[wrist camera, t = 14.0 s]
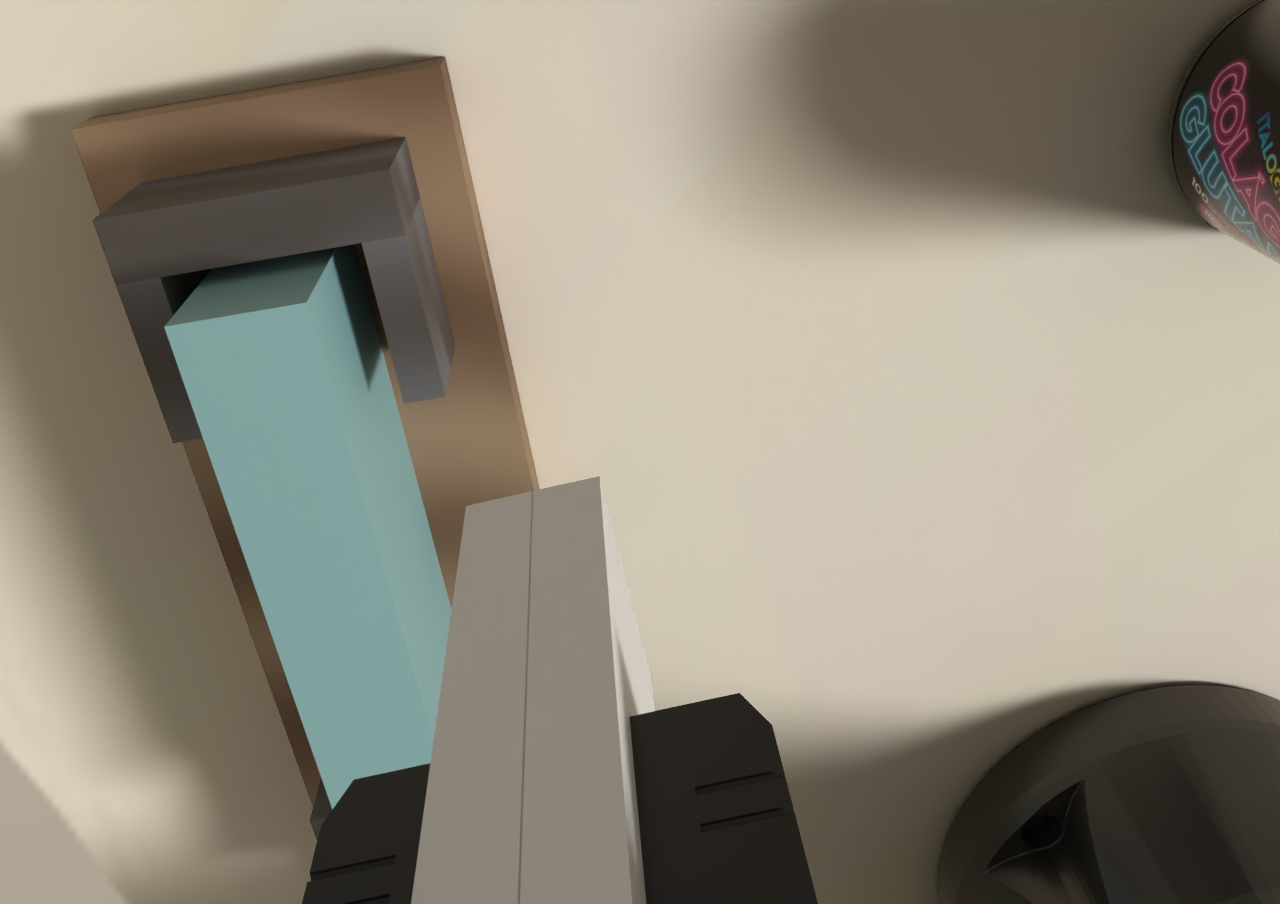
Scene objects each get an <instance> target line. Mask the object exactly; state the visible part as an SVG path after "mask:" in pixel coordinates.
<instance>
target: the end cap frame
mask: <svg viewBox="0 0 1280 904" xmlns="http://www.w3.org/2000/svg"><path fill="white" fill-rule="evenodd" d="M71 132H72V135H73V138H74V141H75V143H76V146H77V149H78V152H79V155H80V157H81V160H82V163H83V166H84V169H85V171H86V174H87V177H88V180H89V183H90V185H91V188H92V191H93V194H94V197H95V199H96V202H97V205H98V208H99V210H100V213H101V214H100V215H99V216H98V217H96V218H95V219H94V220H93V223H94V225H95V228H96V231H97V234H98V236H99V239H100V242H101V245H102V248H103V250H104V253H105V256H106V259H107V261H108V264H109V267H110V270H111V272H112V275H113V278H114V281H115V283H116V286H117V289H118V292H119V294H120V297H121V300H122V303H123V306H124V308H125V311H126V314H127V317H128V319H129V322H130V325H131V328H132V330H133V333H134V336H135V339H136V341H137V344H138V347H139V350H140V352H141V355H142V358H143V361H144V364H145V366H146V369H147V372H148V375H149V377H150V380H151V383H152V386H153V388H154V391H155V394H156V397H157V399H158V402H159V405H160V408H161V410H162V413H163V416H164V419H165V422H166V424H167V427H168V430H169V433H170V435H171V438H172V441H173V443H177V442H183V445H184V448H185V451H186V453H187V456H188V459H189V462H190V464H191V467H192V470H193V473H194V476H195V478H196V481H197V484H198V487H199V490H200V492H201V495H202V498H203V501H204V504H205V506H206V509H207V512H208V515H209V518H210V520H211V523H212V526H213V529H214V531H215V534H216V537H217V540H218V543H219V545H220V548H221V551H222V554H223V557H224V559H225V562H226V565H227V568H228V571H229V573H230V576H231V579H232V582H233V585H234V587H235V590H236V593H237V596H238V598H239V601H240V604H241V607H242V610H243V612H244V615H245V618H246V621H247V624H248V626H249V629H250V632H251V635H252V638H253V640H254V643H255V646H256V649H257V652H258V654H259V657H260V660H261V663H262V665H263V668H264V671H265V674H266V677H267V679H268V682H269V685H270V688H271V691H272V693H273V696H274V699H275V702H276V705H277V707H278V710H279V713H280V716H281V719H282V721H283V724H284V727H285V730H286V732H287V735H288V738H289V741H290V744H291V746H292V749H293V752H294V755H295V758H296V760H297V763H298V766H299V769H300V772H301V774H302V777H303V780H304V783H305V786H306V788H307V791H308V794H309V797H310V799H311V802H312V805H313V811H312V815H311V819H310V822H311V825H312V827H313V830H314V833H315V836H316V839H317V841H318V837H319V832H320V828H321V825H322V823H323V822H324V821H325V819H326V818H327V816H328V815H329V814H330V812H331V811H332V807H331V804H330V801H329V798H328V795H327V793H326V790H325V787H324V784H323V781H322V778H321V775H320V772H319V770H318V767H317V764H316V761H315V758H314V755H313V752H312V749H311V747H310V744H309V741H308V738H307V735H306V732H305V729H304V727H303V724H302V721H301V718H300V715H299V712H298V709H297V706H296V704H295V701H294V698H293V695H292V692H291V689H290V686H289V684H288V681H287V678H286V675H285V672H284V669H283V666H282V663H281V661H280V658H279V655H278V652H277V649H276V646H275V643H274V641H273V638H272V635H271V632H270V629H269V626H268V623H267V620H266V618H265V615H264V612H263V609H262V606H261V603H260V600H259V597H258V595H257V592H256V589H255V586H254V583H253V580H252V577H251V575H250V572H249V569H248V566H247V563H246V560H245V557H244V554H243V552H242V549H241V546H240V543H239V540H238V537H237V534H236V532H235V529H234V526H233V523H232V520H231V517H230V514H229V511H228V509H227V506H226V503H225V500H224V497H223V494H222V491H221V489H220V486H219V483H218V480H217V477H216V474H215V471H214V468H213V466H212V463H211V460H210V457H209V454H208V451H207V448H206V445H205V443H204V440H203V437H202V434H201V431H200V428H199V425H198V423H197V420H196V417H195V414H194V411H193V408H192V405H191V402H190V400H189V397H188V394H187V391H186V388H185V385H184V382H183V380H182V377H181V374H180V371H179V368H178V365H177V362H176V359H175V357H174V354H173V351H172V348H171V345H170V342H169V339H168V337H167V334H166V331H165V328H164V326H165V325H166V324H167V323H168V322H169V320H170V319H171V318H172V317H173V315H174V314H175V313H176V312H177V311H178V309H179V308H180V307H181V306H182V305H183V303H184V302H185V301H186V300H187V298H188V297H189V296H190V295H191V294H192V292H193V291H194V290H195V289H196V288H197V286H198V285H199V284H200V283H201V282H202V280H203V279H204V278H205V277H206V275H207V274H208V273H209V272H210V271H211V269H213V268H218V267H224V266H230V265H236V264H242V263H248V262H253V261H259V260H265V259H271V258H277V257H283V256H288V255H294V254H300V253H306V252H312V251H318V250H323V249H329V248H335V247H341V246H347V245H353V244H354V246H355V250H356V254H357V257H358V261H359V265H360V269H361V272H362V276H363V280H364V284H365V287H366V291H367V295H368V299H369V302H370V306H371V310H372V314H373V317H374V321H375V325H376V329H377V332H378V336H379V340H380V344H381V347H382V351H383V355H384V359H385V362H386V366H387V370H388V374H389V377H390V381H391V385H392V389H393V392H394V396H395V400H396V404H397V407H398V411H399V415H400V419H401V422H402V426H403V430H404V434H405V437H406V441H407V445H408V448H409V452H410V456H411V460H412V463H413V467H414V471H415V475H416V478H417V482H418V486H419V490H420V493H421V497H422V501H423V505H424V508H425V512H426V516H427V520H428V523H429V527H430V531H431V535H432V538H433V542H434V546H435V550H436V553H437V557H438V561H439V565H440V568H441V572H442V576H443V580H444V583H445V587H446V591H447V595H448V598H449V602H450V606H451V610H452V604H453V596H454V589H455V582H456V575H457V568H458V560H459V553H460V546H461V539H462V531H463V524H464V517H465V510H466V506H468V505H472V504H477V503H481V502H486V501H491V500H495V499H500V498H504V497H509V496H513V495H518V494H522V493H527V492H531V491H536V490H539V485H538V481H537V476H536V471H535V467H534V462H533V458H532V453H531V449H530V444H529V439H528V435H527V430H526V426H525V421H524V416H523V412H522V407H521V403H520V398H519V393H518V389H517V384H516V380H515V375H514V371H513V366H512V361H511V357H510V352H509V348H508V343H507V338H506V334H505V329H504V325H503V320H502V315H501V311H500V306H499V302H498V297H497V293H496V288H495V283H494V279H493V274H492V270H491V265H490V260H489V256H488V251H487V247H486V242H485V238H484V233H483V228H482V224H481V219H480V215H479V210H478V205H477V201H476V196H475V192H474V187H473V182H472V178H471V173H470V169H469V164H468V160H467V155H466V150H465V146H464V141H463V137H462V132H461V127H460V123H459V118H458V114H457V109H456V105H455V100H454V95H453V91H452V86H451V82H450V77H449V72H448V68H447V63H446V59H445V57H441V58H435V59H429V60H423V61H417V62H412V63H406V64H400V65H394V66H388V67H383V68H377V69H371V70H365V71H359V72H354V73H348V74H342V75H336V76H330V77H325V78H319V79H313V80H307V81H302V82H296V83H290V84H284V85H278V86H273V87H267V88H261V89H255V90H249V91H244V92H238V93H232V94H226V95H220V96H215V97H209V98H203V99H197V100H191V101H186V102H180V103H174V104H168V105H163V106H157V107H151V108H145V109H139V110H134V111H128V112H122V113H116V114H110V115H105V116H99V117H93V118H90V119H88V120H87V121H85V122H83V123H81V124H80V125H78V126H76V127H74V128H72V129H71Z"/></svg>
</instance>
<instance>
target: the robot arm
mask: <svg viewBox="0 0 1280 904" xmlns="http://www.w3.org/2000/svg"><path fill="white" fill-rule="evenodd" d="M310 876H311V882H307V886H306V890H305V894H304V898H303V902H302V904H818V903H817V899H816V895H815V891H814V887H813V883H812V879H811V875H810V871H809V867H808V864H807V860H806V856H805V852H804V848H803V844H802V840H801V836H800V832H799V829H798V825H797V821H796V817H795V814H794V810H793V805H792V801H791V797H790V794H789V790H788V786H787V782H786V778H785V775H784V770H783V766H782V762H781V758H780V755H779V751H778V747H777V743H776V739H775V735H774V731H773V727H772V725H771V724H770V723H769V722H768V721H767V720H766V719H765V718H764V717H763V716H762V715H761V714H760V713H759V712H758V711H757V710H756V709H755V708H754V707H753V706H752V705H751V704H750V703H749V702H748V701H747V700H746V699H745V698H744V697H743V696H742V695H741V694H740V693H738V694H733V695H728V696H724V697H719V698H714V699H710V700H705V701H700V702H696V703H691V704H686V705H681V706H677V707H672V708H667V709H663V710H658V711H655V706H654V698H653V690H652V682H651V675H650V671H649V667H648V663H647V660H646V656H645V652H644V648H643V644H642V640H641V636H640V632H639V628H638V624H637V621H636V617H635V613H634V609H633V605H632V601H631V597H630V593H629V589H628V586H627V582H626V578H625V574H624V570H623V566H622V562H621V558H620V554H619V550H618V547H617V543H616V539H615V535H614V531H613V527H612V523H611V519H610V515H609V512H608V508H607V504H606V500H605V496H604V492H603V488H602V484H601V480H600V476H599V477H595V478H590V479H586V480H581V481H576V482H572V483H567V484H563V485H558V486H554V487H549V488H545V489H540V490H536V491H531V492H527V493H522V494H518V495H513V496H509V497H504V498H500V499H495V500H491V501H486V502H481V503H477V504H472V505H468V506H466V510H465V517H464V524H463V531H462V539H461V546H460V553H459V560H458V568H457V575H456V582H455V589H454V596H453V604H452V611H451V618H450V625H449V633H448V640H447V647H446V654H445V662H444V669H443V676H442V683H441V690H440V698H439V705H438V712H437V719H436V727H435V734H434V741H433V748H432V756H431V763H429V764H424V765H420V766H415V767H410V768H406V769H401V770H396V771H392V772H387V773H382V774H378V775H373V776H368V777H364V778H359V779H354V780H353V781H352V783H351V784H350V786H349V787H348V788H347V790H346V791H345V793H344V794H343V795H342V797H341V798H340V800H339V801H338V802H337V804H336V805H335V807H334V808H333V809H332V811H331V812H330V814H329V815H328V816H327V818H326V819H325V821H324V822H323V823H322V825H321V828H320V832H319V837H318V841H317V845H316V849H315V853H314V857H313V861H312V865H311V869H310ZM938 897H939V904H1280V701H1279V700H1277V699H1274V698H1272V697H1269V696H1266V695H1263V694H1260V693H1256V692H1252V691H1248V690H1243V689H1238V688H1232V687H1223V686H1211V685H1183V686H1170V687H1162V688H1155V689H1149V690H1144V691H1139V692H1134V693H1130V694H1126V695H1123V696H1119V697H1116V698H1112V699H1109V700H1106V701H1103V702H1100V703H1098V704H1095V705H1092V706H1090V707H1087V708H1085V709H1082V710H1080V711H1078V712H1076V713H1073V714H1071V715H1069V716H1067V717H1065V718H1063V719H1061V720H1059V721H1058V722H1056V723H1054V724H1052V725H1050V726H1049V727H1047V728H1045V729H1044V730H1042V731H1040V732H1039V733H1037V734H1036V735H1034V736H1033V737H1031V738H1030V739H1028V740H1027V741H1025V742H1024V743H1023V744H1021V745H1020V746H1019V747H1017V748H1016V749H1015V750H1013V751H1012V752H1011V753H1010V754H1009V755H1008V756H1006V757H1005V758H1004V759H1003V760H1002V761H1001V762H1000V763H999V764H998V765H997V766H995V767H994V768H993V769H992V770H991V771H990V772H989V773H988V775H987V776H986V777H985V778H984V779H983V780H982V781H981V782H980V783H979V785H978V786H977V787H976V788H975V790H974V791H973V792H972V793H971V795H970V796H969V798H968V799H967V801H966V802H965V803H964V805H963V806H962V808H961V810H960V811H959V813H958V815H957V817H956V818H955V820H954V822H953V825H952V827H951V829H950V831H949V833H948V836H947V839H946V841H945V844H944V847H943V851H942V855H941V859H940V864H939V872H938Z"/></svg>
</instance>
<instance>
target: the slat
mask: <svg viewBox="0 0 1280 904" xmlns="http://www.w3.org/2000/svg"><path fill="white" fill-rule="evenodd" d="M164 328H165V331H166V334H167V337H168V339H169V342H170V345H171V348H172V351H173V354H174V357H175V359H176V362H177V365H178V368H179V371H180V374H181V377H182V380H183V382H184V385H185V388H186V391H187V394H188V397H189V400H190V402H191V405H192V408H193V411H194V414H195V417H196V420H197V423H198V425H199V428H200V431H201V434H202V437H203V440H204V443H205V445H206V448H207V451H208V454H209V457H210V460H211V463H212V466H213V468H214V471H215V474H216V477H217V480H218V483H219V486H220V489H221V491H222V494H223V497H224V500H225V503H226V506H227V509H228V511H229V514H230V517H231V520H232V523H233V526H234V529H235V532H236V534H237V537H238V540H239V543H240V546H241V549H242V552H243V554H244V557H245V560H246V563H247V566H248V569H249V572H250V575H251V577H252V580H253V583H254V586H255V589H256V592H257V595H258V597H259V600H260V603H261V606H262V609H263V612H264V615H265V618H266V620H267V623H268V626H269V629H270V632H271V635H272V638H273V641H274V643H275V646H276V649H277V652H278V655H279V658H280V661H281V663H282V666H283V669H284V672H285V675H286V678H287V681H288V684H289V686H290V689H291V692H292V695H293V698H294V701H295V704H296V706H297V709H298V712H299V715H300V718H301V721H302V724H303V727H304V729H305V732H306V735H307V738H308V741H309V744H310V747H311V749H312V752H313V755H314V758H315V761H316V764H317V767H318V770H319V772H320V775H321V778H322V781H323V784H324V787H325V790H326V793H327V795H328V798H329V801H330V804H331V807H332V809H333V808H334V807H335V805H336V804H337V802H338V801H339V800H340V798H341V797H342V795H343V794H344V793H345V791H346V790H347V788H348V787H349V786H350V784H351V783H352V781H353V780H354V779H359V778H364V777H368V776H373V775H378V774H382V773H387V772H392V771H396V770H401V769H406V768H410V767H415V766H420V765H424V764H429V763H431V756H432V748H433V741H434V734H435V727H436V719H437V712H438V705H439V698H440V690H441V683H442V676H443V669H444V662H445V654H446V647H447V640H448V633H449V625H450V618H451V611H452V610H451V606H450V602H449V598H448V595H447V591H446V587H445V583H444V580H443V576H442V572H441V568H440V565H439V561H438V557H437V553H436V550H435V546H434V542H433V538H432V535H431V531H430V527H429V523H428V520H427V516H426V512H425V508H424V505H423V501H422V497H421V493H420V490H419V486H418V482H417V478H416V475H415V471H414V467H413V463H412V460H411V456H410V452H409V448H408V445H407V441H406V437H405V434H404V430H403V426H402V422H401V419H400V415H399V411H398V407H397V404H396V400H395V396H394V392H393V389H392V385H391V381H390V377H389V374H388V370H387V366H386V362H385V359H384V355H383V351H382V347H381V344H380V340H379V336H378V332H377V329H376V325H375V321H374V317H373V314H372V310H371V306H370V302H369V299H368V295H367V291H366V287H365V284H364V280H363V276H362V272H361V269H360V265H359V261H358V257H357V254H356V250H355V246H354V244H353V245H347V246H341V247H335V248H329V249H323V250H318V251H312V252H306V253H300V254H294V255H288V256H283V257H277V258H271V259H265V260H259V261H253V262H248V263H242V264H236V265H230V266H224V267H218V268H213V269H211V271H210V272H209V273H208V274H207V275H206V277H205V278H204V279H203V280H202V282H201V283H200V284H199V285H198V286H197V288H196V289H195V290H194V291H193V292H192V294H191V295H190V296H189V297H188V298H187V300H186V301H185V302H184V303H183V305H182V306H181V307H180V308H179V309H178V311H177V312H176V313H175V314H174V315H173V317H172V318H171V319H170V320H169V322H168V323H167V324H166V325H165V326H164Z"/></svg>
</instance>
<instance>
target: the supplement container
mask: <svg viewBox="0 0 1280 904" xmlns="http://www.w3.org/2000/svg"><path fill="white" fill-rule="evenodd" d="M1169 155H1170V161H1171V166H1172V170H1173V173H1174V177H1175V180H1176V182H1177V185H1178V187H1179V190H1180V192H1181V193H1182V195H1183V197H1184V198H1185V200H1186V202H1187V203H1188V204H1189V206H1190V207H1191V208H1192V209H1193V210H1194V212H1195V213H1196V214H1197V215H1198V216H1199V217H1200V218H1202V219H1203V220H1204V221H1206V222H1207V223H1208V224H1210V225H1211V226H1213V227H1215V228H1216V229H1218V230H1220V231H1221V232H1223V233H1225V234H1227V235H1229V236H1230V237H1232V238H1234V239H1236V240H1238V241H1239V242H1241V243H1243V244H1245V245H1247V246H1248V247H1250V248H1252V249H1254V250H1256V251H1257V252H1259V253H1261V254H1263V255H1265V256H1266V257H1268V258H1270V259H1272V260H1274V261H1275V262H1277V263H1279V264H1280V0H1259V1H1257V2H1255V3H1254V4H1252V5H1250V6H1249V7H1247V8H1246V9H1244V10H1242V11H1241V12H1239V13H1238V14H1237V15H1236V16H1234V17H1233V18H1232V19H1230V20H1229V21H1228V22H1227V23H1226V24H1224V25H1223V26H1222V27H1221V28H1220V29H1219V30H1218V31H1217V32H1216V33H1215V34H1214V35H1213V36H1212V37H1211V38H1210V39H1209V40H1208V42H1207V43H1206V44H1205V45H1204V47H1203V48H1202V49H1201V50H1200V52H1199V53H1198V54H1197V56H1196V57H1195V59H1194V60H1193V62H1192V63H1191V65H1190V67H1189V69H1188V71H1187V72H1186V74H1185V76H1184V78H1183V80H1182V83H1181V85H1180V87H1179V89H1178V92H1177V95H1176V98H1175V101H1174V105H1173V109H1172V113H1171V118H1170V125H1169Z"/></svg>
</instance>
